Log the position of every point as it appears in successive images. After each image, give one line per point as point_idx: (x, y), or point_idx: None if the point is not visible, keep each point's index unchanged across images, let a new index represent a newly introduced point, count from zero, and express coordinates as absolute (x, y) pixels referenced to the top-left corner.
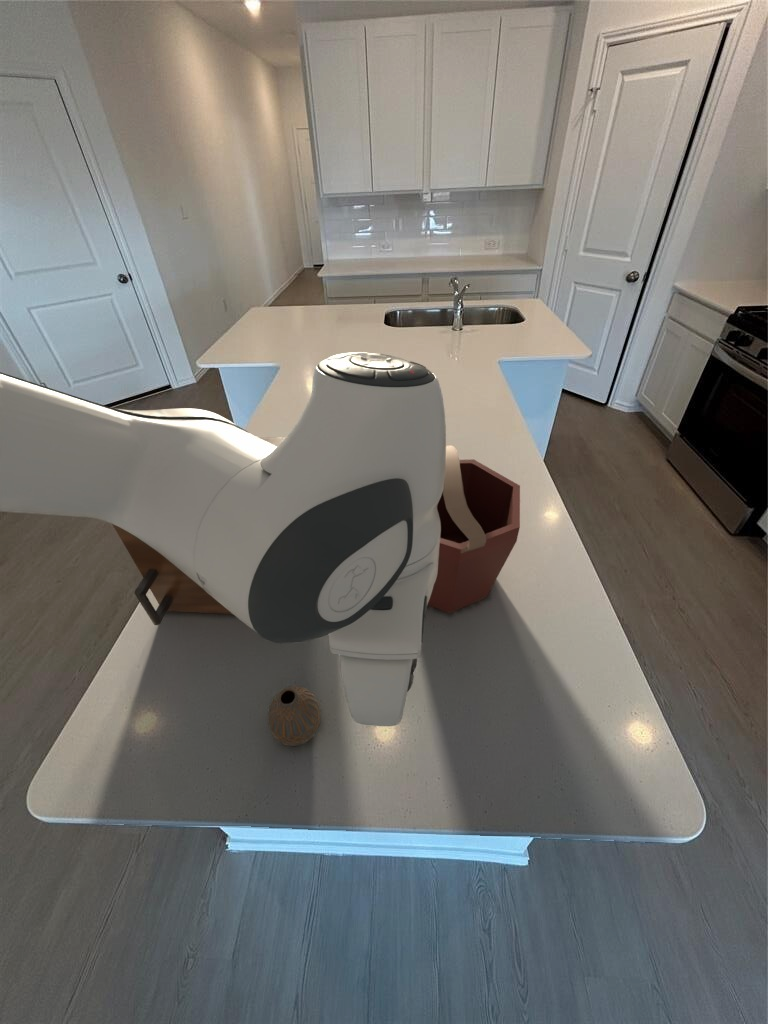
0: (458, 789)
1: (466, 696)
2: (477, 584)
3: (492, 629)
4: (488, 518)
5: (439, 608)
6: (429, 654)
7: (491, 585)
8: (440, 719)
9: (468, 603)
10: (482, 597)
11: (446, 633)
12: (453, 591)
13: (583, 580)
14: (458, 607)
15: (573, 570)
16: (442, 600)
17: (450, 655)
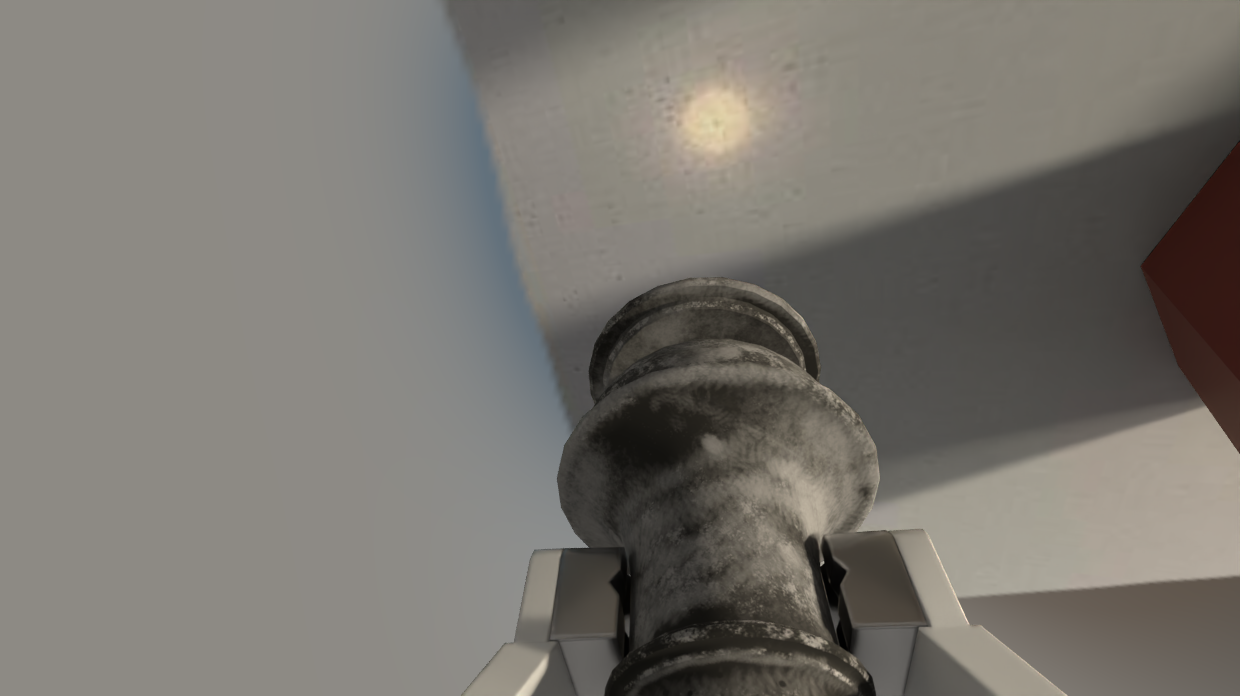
0: (605, 319)
1: (833, 325)
2: (1231, 414)
3: (1046, 381)
4: None
5: (1171, 234)
6: (978, 218)
7: (1217, 420)
8: (764, 269)
9: (1166, 325)
10: (1180, 362)
11: (1054, 261)
12: (1220, 355)
13: (1166, 570)
14: (1156, 298)
15: (1211, 557)
16: (1198, 272)
17: (967, 279)
